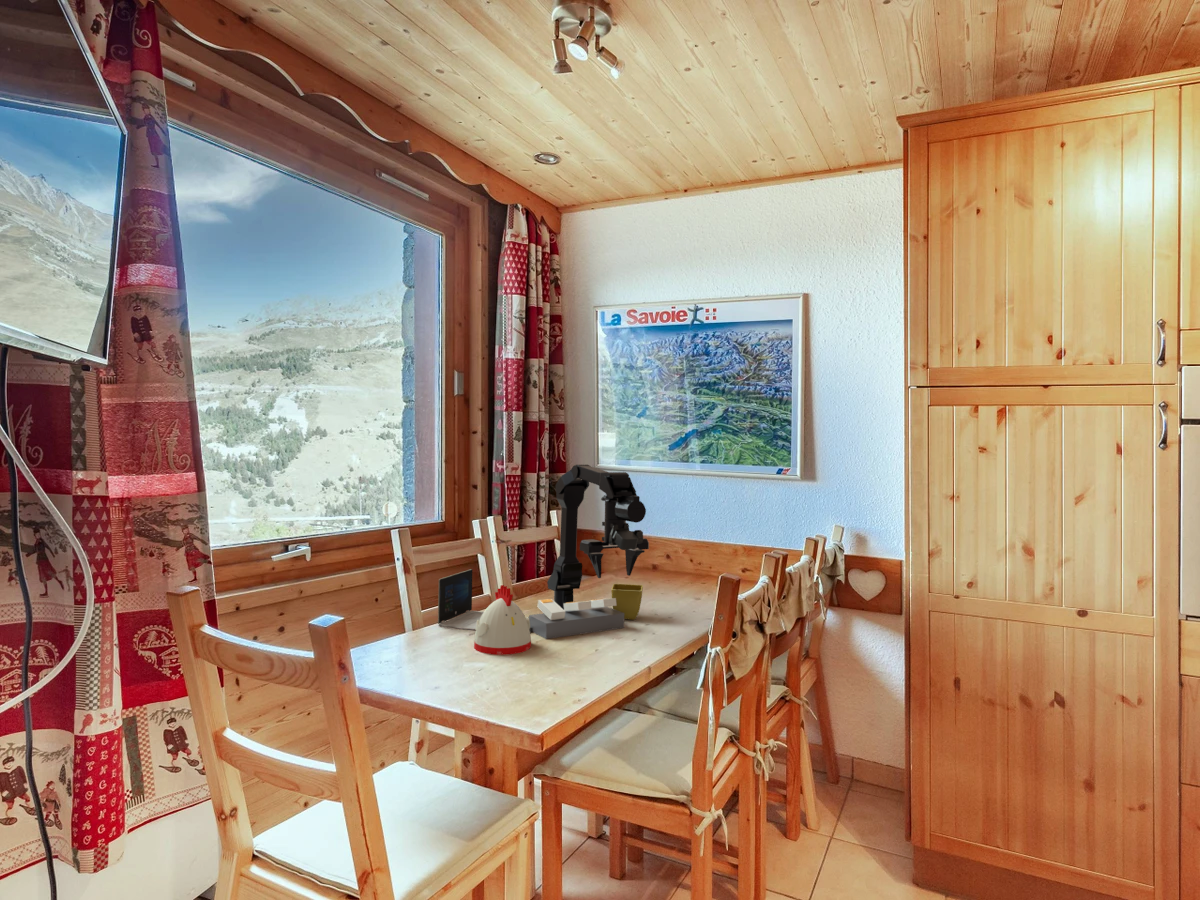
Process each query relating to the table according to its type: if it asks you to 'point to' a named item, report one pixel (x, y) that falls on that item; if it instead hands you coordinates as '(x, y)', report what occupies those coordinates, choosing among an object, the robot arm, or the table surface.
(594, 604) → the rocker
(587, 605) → the block
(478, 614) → the laptop
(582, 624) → the power strip
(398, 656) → the table surface
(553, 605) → the rocker
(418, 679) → the table surface
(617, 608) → the flower pot
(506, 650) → the kitchen timer
